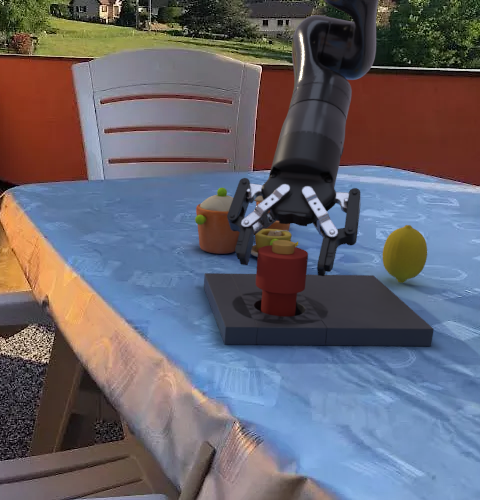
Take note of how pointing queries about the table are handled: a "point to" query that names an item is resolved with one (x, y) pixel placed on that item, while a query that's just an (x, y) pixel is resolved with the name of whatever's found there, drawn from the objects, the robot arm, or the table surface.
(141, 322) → the table surface
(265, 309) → the stopper
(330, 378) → the table surface
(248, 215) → the robot arm
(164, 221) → the table surface
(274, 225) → the toy tea set
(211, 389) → the table surface
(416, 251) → the lemon
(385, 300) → the grey board with hole
